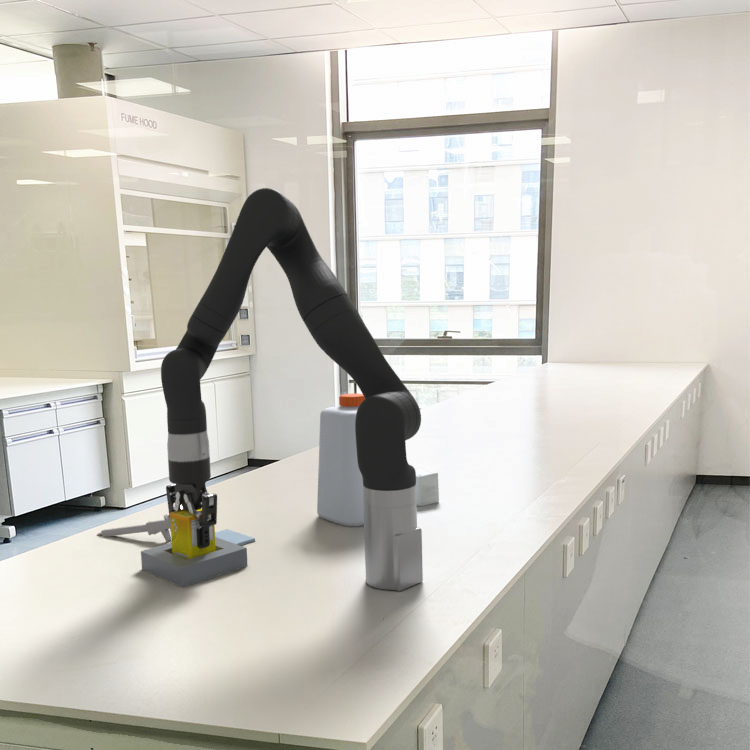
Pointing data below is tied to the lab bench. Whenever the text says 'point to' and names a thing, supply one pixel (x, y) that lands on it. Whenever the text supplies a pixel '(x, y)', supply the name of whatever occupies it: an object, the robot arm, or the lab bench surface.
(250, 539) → the pad
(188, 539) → the supplement box
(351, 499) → the plastic bottle
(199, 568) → the socket block
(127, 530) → the caliper
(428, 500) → the skincare box
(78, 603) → the lab bench surface
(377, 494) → the robot arm
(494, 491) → the lab bench surface
